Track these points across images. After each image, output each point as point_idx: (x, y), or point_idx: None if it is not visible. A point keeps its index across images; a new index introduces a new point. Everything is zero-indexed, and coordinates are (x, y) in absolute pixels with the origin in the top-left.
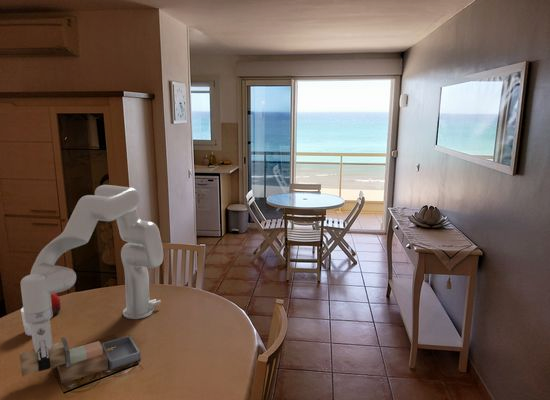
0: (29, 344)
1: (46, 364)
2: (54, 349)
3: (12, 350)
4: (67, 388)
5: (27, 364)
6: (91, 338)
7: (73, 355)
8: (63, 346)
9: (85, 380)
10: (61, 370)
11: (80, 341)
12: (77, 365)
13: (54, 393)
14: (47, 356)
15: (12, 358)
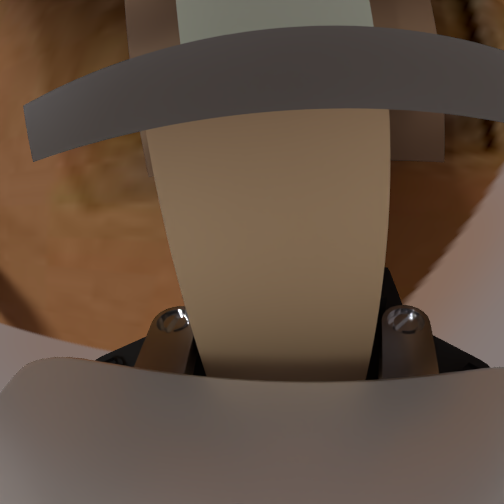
0: (12, 270)
1: (393, 288)
2: (382, 281)
3: (41, 318)
4: (469, 125)
5: None
6: (16, 18)
7: (354, 16)
8: (368, 116)
9: (441, 21)
10: (420, 150)
11: (17, 63)
12: (408, 23)
13: (471, 194)
14: (427, 337)
15: (81, 327)
